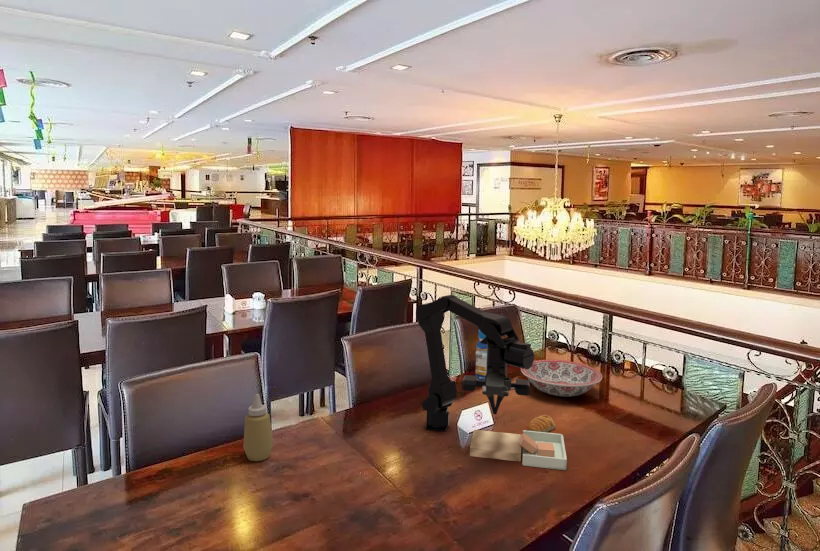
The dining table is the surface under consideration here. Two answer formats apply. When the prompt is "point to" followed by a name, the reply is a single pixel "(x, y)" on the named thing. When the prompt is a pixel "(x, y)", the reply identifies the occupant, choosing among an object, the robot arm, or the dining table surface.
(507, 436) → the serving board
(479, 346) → the beverage bottle
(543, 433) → the tray
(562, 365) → the ceramic bowl
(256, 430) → the squeeze bottle
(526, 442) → the tile
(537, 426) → the pastry
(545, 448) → the tile
